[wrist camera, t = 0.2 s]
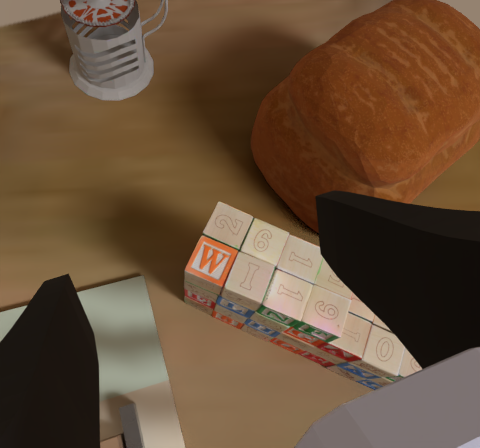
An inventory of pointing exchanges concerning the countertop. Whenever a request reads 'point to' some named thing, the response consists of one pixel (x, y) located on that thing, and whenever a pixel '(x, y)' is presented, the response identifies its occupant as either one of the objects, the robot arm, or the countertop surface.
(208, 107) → the countertop surface
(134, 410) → the channel rails
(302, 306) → the stack of blocks
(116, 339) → the chute board
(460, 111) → the bread
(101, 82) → the french press
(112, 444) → the walnut block
